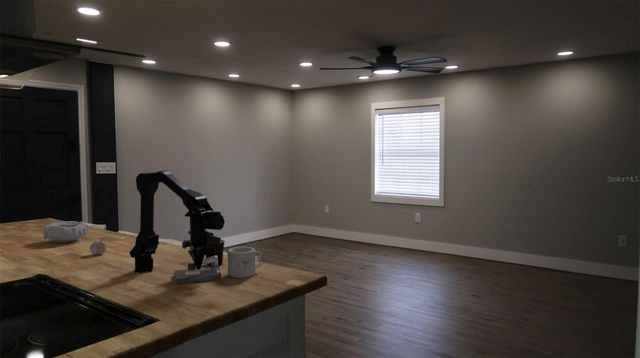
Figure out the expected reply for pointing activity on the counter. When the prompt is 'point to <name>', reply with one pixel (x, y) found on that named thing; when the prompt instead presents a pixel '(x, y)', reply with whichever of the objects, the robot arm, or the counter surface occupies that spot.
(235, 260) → the mug
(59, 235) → the bowl
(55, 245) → the counter surface
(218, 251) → the coffee mug
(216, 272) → the chassis
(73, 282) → the counter surface
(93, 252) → the garlic bulb
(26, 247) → the counter surface
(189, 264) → the cable arm
